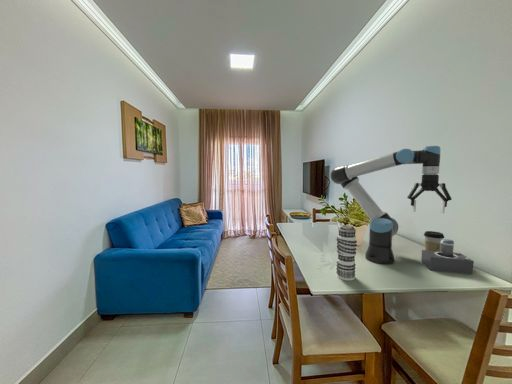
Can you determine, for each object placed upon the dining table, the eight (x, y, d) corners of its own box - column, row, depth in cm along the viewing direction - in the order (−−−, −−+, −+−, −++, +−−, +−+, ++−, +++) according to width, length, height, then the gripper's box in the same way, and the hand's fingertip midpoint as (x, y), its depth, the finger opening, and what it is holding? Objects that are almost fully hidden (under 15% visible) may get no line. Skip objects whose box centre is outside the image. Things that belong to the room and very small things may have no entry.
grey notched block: (430, 270, 120) (430, 256, 120) (421, 261, 132) (422, 248, 131) (472, 274, 115) (473, 259, 114) (459, 265, 126) (460, 252, 126)
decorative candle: (332, 276, 113) (333, 226, 111) (340, 271, 119) (342, 223, 117) (350, 282, 106) (352, 229, 104) (358, 276, 113) (360, 226, 111)
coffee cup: (446, 261, 133) (448, 235, 132) (427, 259, 135) (429, 234, 134) (437, 255, 143) (438, 231, 141) (419, 253, 144) (420, 230, 143)
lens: (441, 260, 121) (443, 241, 120) (437, 256, 126) (438, 238, 126) (455, 261, 119) (456, 242, 118) (449, 257, 125) (450, 239, 124)
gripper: (406, 174, 128) (404, 211, 130) (461, 174, 121) (458, 214, 122) (402, 174, 135) (400, 209, 137) (454, 174, 128) (451, 212, 129)
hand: (427, 212), depth 130 cm, fingers open, 13 cm apart
